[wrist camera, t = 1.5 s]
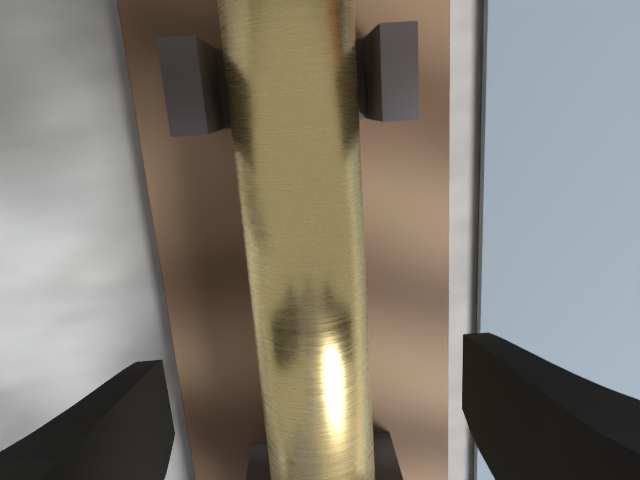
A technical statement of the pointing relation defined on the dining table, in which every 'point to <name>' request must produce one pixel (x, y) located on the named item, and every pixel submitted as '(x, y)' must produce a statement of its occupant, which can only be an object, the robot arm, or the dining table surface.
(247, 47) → the brass rail
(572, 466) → the robot arm
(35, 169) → the dining table surface
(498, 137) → the slate mat
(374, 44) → the rail stand
